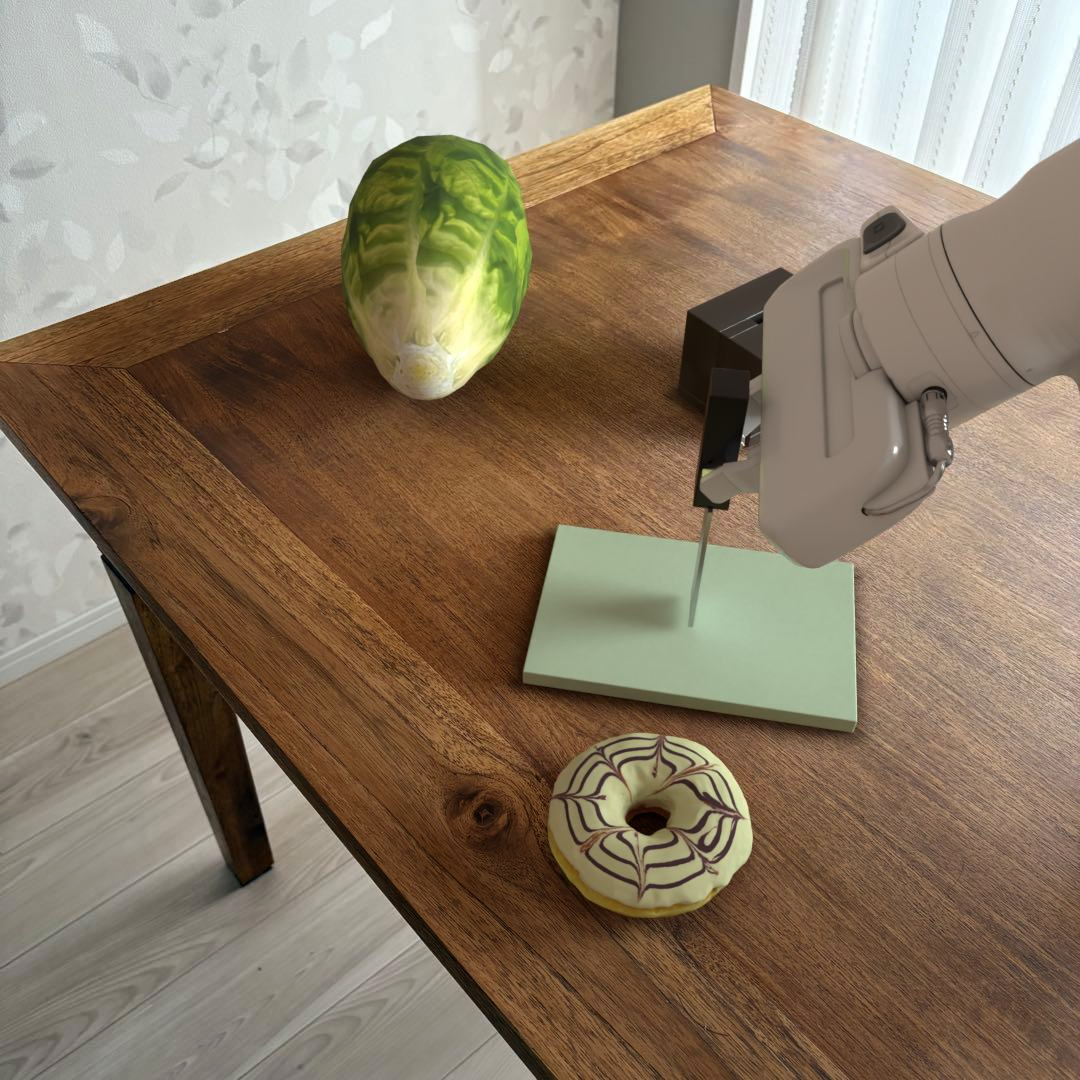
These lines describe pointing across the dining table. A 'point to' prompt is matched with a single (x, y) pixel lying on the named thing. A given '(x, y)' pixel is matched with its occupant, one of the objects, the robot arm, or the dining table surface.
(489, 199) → the lettuce
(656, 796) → the decorated donut
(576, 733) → the dining table surface
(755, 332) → the knife block
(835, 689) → the cutting board
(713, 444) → the knife
